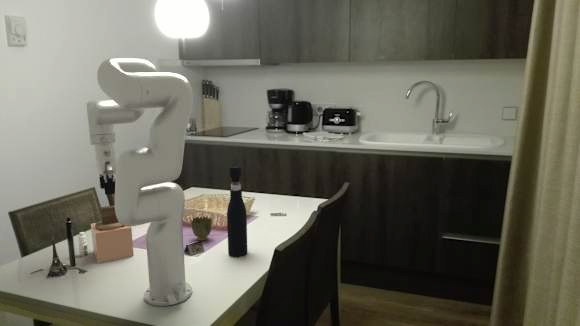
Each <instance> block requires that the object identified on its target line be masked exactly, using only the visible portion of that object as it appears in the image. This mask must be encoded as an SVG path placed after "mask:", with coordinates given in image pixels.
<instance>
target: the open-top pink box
mask: <svg viewBox="0 0 580 326" xmlns="http://www.w3.org/2000/svg"><path fill="white" fill-rule="evenodd" d="M96 223H97V222H93V223H91V224H90V229H91V241H92V249H93V253H94V256H95V259H96V262H97V263H98V264H101V263H105V262H110V261H115V260H119V259H120V260H121V259H125V258H130V257H134V256H135V254H134V245H133V244H134V243H133V233H132V232H133V231H132V230H133V229H132V226H131V227H127V226H123V227H121V228H118V229H114V230H103V231H101V230H98V229H96V226H95V224H96Z"/></svg>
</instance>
